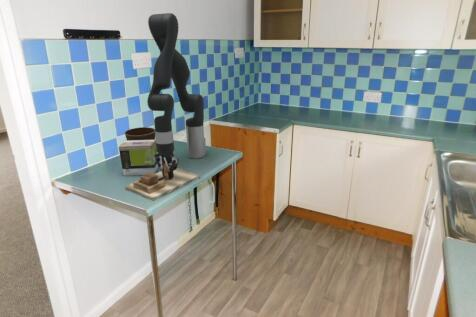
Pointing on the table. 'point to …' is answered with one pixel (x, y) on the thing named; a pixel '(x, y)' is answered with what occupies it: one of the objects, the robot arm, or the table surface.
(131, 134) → the plant pot
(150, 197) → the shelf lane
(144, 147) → the tea box
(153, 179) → the walnut block
